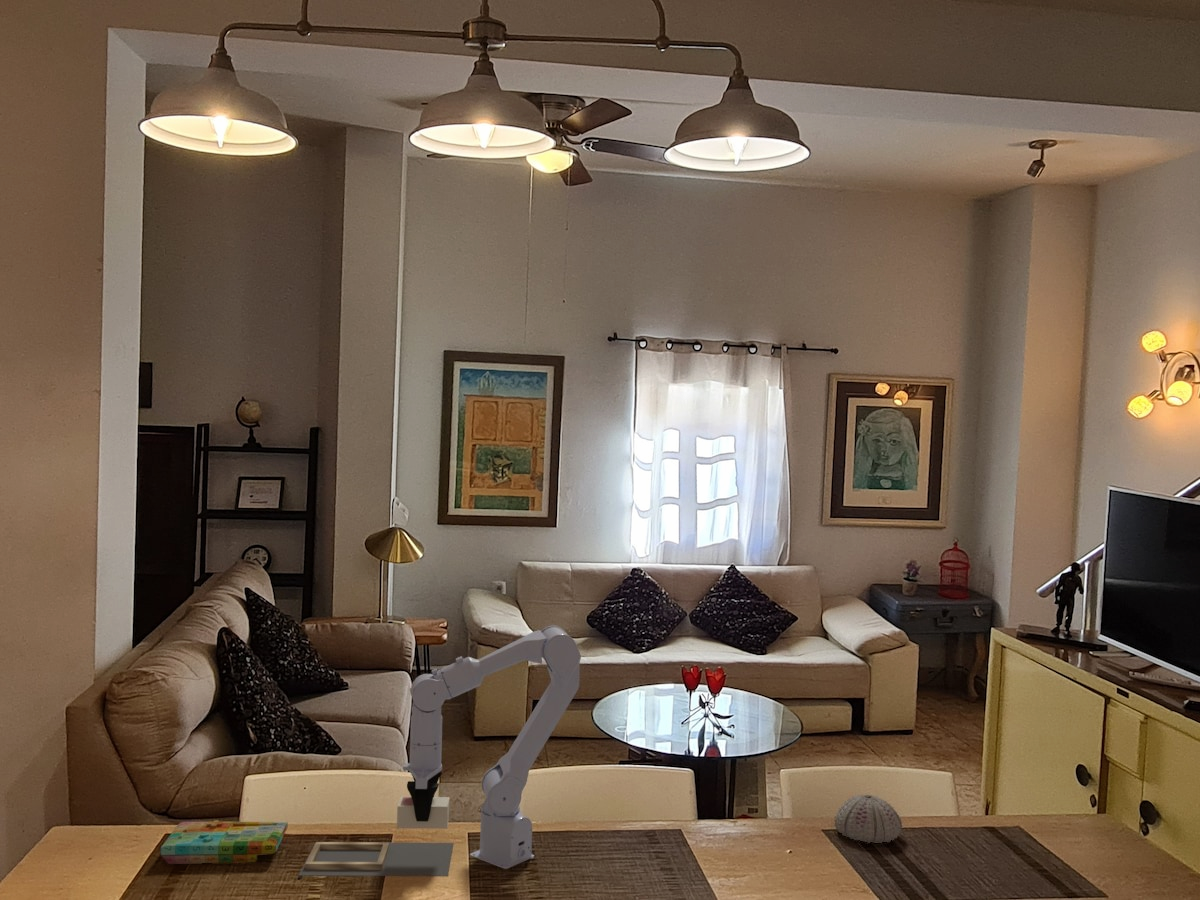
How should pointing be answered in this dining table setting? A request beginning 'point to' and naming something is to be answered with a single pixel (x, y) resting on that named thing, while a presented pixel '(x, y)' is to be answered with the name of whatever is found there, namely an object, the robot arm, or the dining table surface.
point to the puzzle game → (222, 842)
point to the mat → (390, 860)
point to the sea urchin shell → (868, 819)
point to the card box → (436, 818)
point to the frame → (377, 865)
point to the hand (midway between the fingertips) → (423, 815)
